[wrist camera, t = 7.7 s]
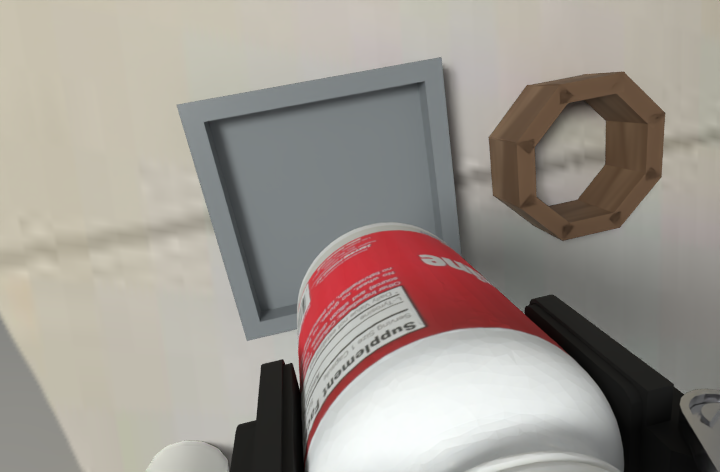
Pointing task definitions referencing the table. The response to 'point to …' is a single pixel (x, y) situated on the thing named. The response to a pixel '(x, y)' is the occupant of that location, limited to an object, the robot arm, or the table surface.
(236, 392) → the table surface
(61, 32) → the table surface
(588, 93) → the holder ring
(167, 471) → the foam cup
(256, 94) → the tray
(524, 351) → the pill bottle
